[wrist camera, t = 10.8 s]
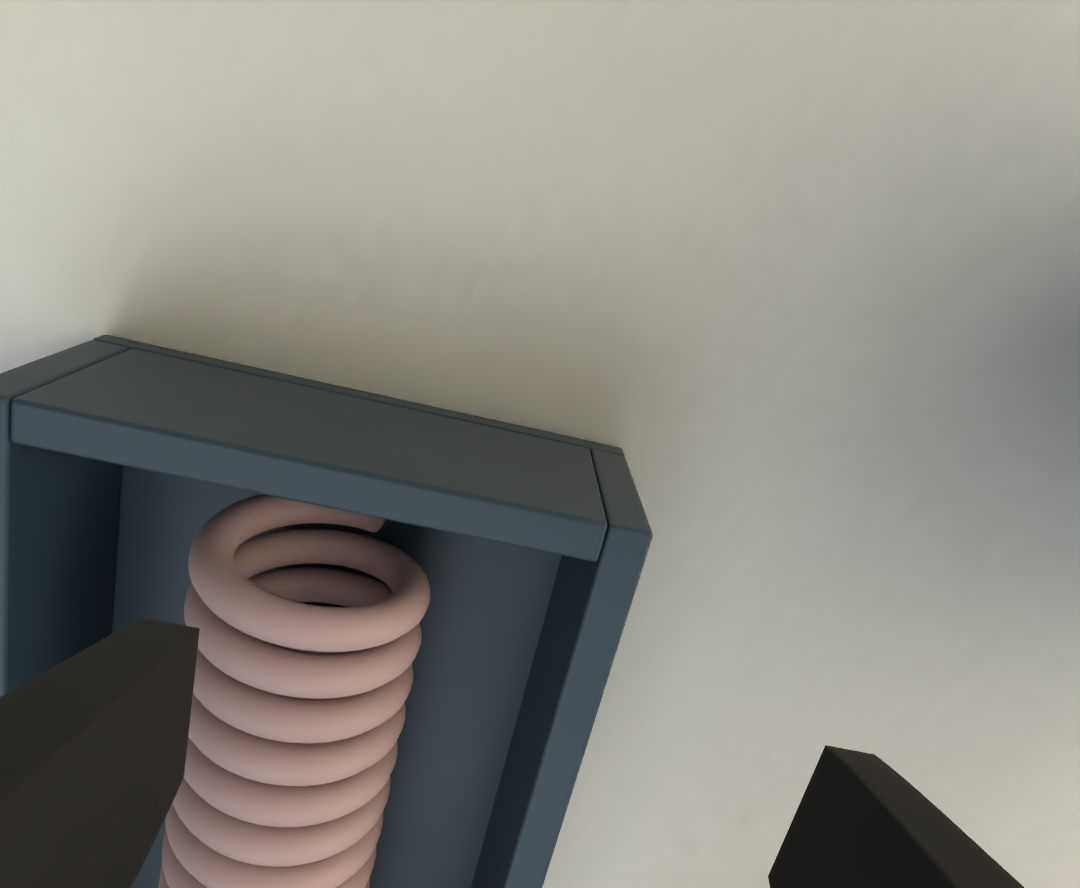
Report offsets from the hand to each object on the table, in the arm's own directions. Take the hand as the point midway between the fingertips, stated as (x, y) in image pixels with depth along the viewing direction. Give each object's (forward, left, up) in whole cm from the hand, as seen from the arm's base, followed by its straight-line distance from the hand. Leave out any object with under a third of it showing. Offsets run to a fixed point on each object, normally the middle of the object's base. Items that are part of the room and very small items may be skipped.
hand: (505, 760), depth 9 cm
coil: (+4, +10, -9) cm, 14 cm away
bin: (+4, +10, -9) cm, 14 cm away
